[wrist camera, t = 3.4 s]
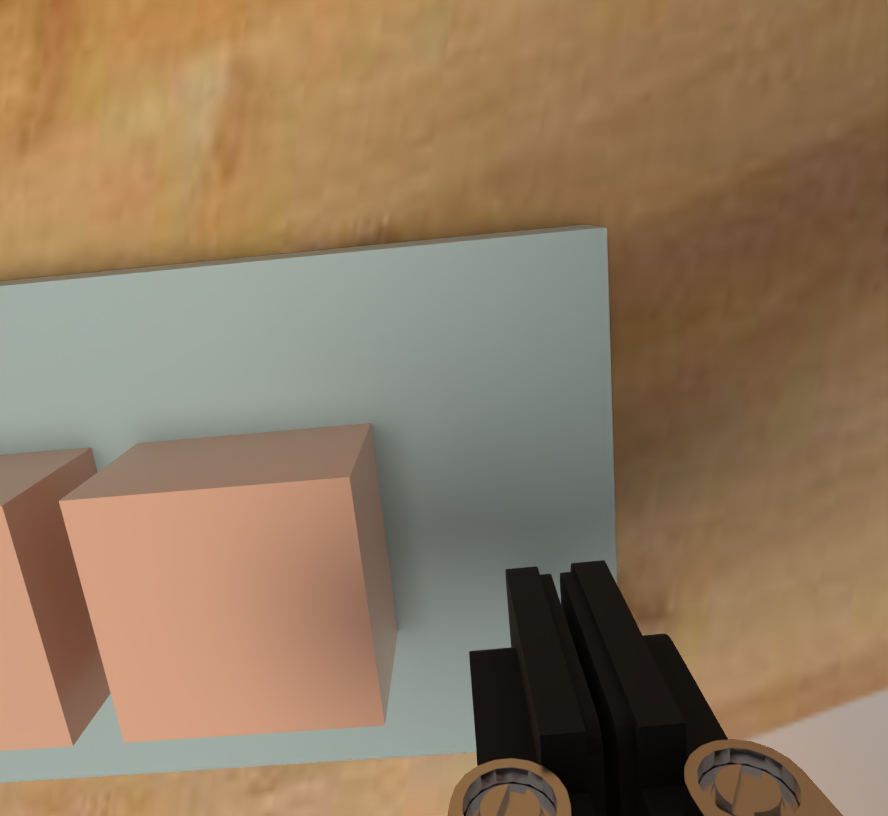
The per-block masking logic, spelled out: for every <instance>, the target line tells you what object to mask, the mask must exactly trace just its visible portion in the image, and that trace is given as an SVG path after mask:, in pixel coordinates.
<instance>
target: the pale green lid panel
mask: <svg viewBox="0 0 888 816" xmlns="http://www.w3.org/2000/svg"><path fill="white" fill-rule="evenodd" d="M367 423H371V427H372V435H373V443H374V450H375V458H376V466H377V473H378V481H379V489H380V496H381V504H382V512H383V519H384V527H385V535H386V542H387V550H388V558H389V565H390V573H391V581H392V588H393V596H394V604H395V611H396V619H397V627H398V635H397V642H396V649H395V657H394V664H393V671H392V678H391V685H390V693H389V700H388V707H387V714H386V721H385V726H370V727H355V728H340V729H324V730H309V731H294V732H279V733H264V734H249V735H234V736H219V737H204V738H189V739H174V740H159V741H144V742H129V743H124V740H123V737H122V733H121V729H120V726H119V722H118V718H117V715H116V711H115V707H114V704H113V700H112V696H111V694H110V695H109V696H108V698H107V699H106V701H105V702H104V703H103V705H102V706H101V708H100V709H99V710H98V712H97V713H96V715H95V716H94V717H93V719H92V720H91V722H90V723H89V724H88V726H87V727H86V729H85V730H84V731H83V733H82V734H81V736H80V737H79V739H78V740H77V741H76V743H75V744H74V746H69V747H53V748H38V749H23V750H8V751H0V783H4V782H20V781H35V780H51V779H67V778H82V777H98V776H113V775H129V774H144V773H160V772H175V771H191V770H206V769H222V768H238V767H253V766H269V765H284V764H300V763H315V762H331V761H346V760H362V759H377V758H393V757H408V756H424V755H440V754H455V753H471V752H476V738H475V725H474V712H473V698H472V685H471V672H470V658H469V651H477V650H488V649H499V648H511V638H510V626H509V613H508V601H507V588H506V574H505V570H506V569H513V568H524V567H535V566H537V567H538V570H539V573H540V575H541V574H551V575H552V578H553V581H554V584H555V587H556V590H557V593H558V596H559V600H560V603H561V593H560V573H563V572H571V563H579V562H590V561H601V560H604V561H605V562H606V564H607V566H608V568H609V570H610V572H611V574H612V576H613V578H614V580H615V582H616V584H617V559H616V524H615V490H614V455H613V420H612V386H611V351H610V316H609V282H608V247H607V227H601V226H593V225H585V224H582V225H572V226H561V227H551V228H541V229H530V230H520V231H510V232H500V233H489V234H479V235H469V236H458V237H448V238H438V239H428V240H417V241H407V242H397V243H386V244H376V245H366V246H356V247H345V248H335V249H325V250H314V251H304V252H294V253H284V254H273V255H263V256H253V257H242V258H232V259H222V260H212V261H201V262H191V263H181V264H170V265H160V266H150V267H140V268H129V269H119V270H109V271H98V272H88V273H78V274H68V275H57V276H47V277H37V278H26V279H16V280H6V281H0V455H6V454H18V453H29V452H41V451H53V450H64V449H76V448H88V447H91V448H92V452H93V456H94V460H95V464H96V468H97V472H99V471H100V470H102V469H103V468H104V467H106V466H107V465H108V464H110V463H111V462H112V461H114V460H115V459H116V458H118V457H119V456H121V455H122V454H123V453H125V452H126V451H127V450H129V449H130V448H131V447H133V446H134V445H135V444H137V443H146V442H157V441H169V440H181V439H192V438H204V437H216V436H227V435H239V434H251V433H262V432H274V431H286V430H297V429H309V428H321V427H332V426H344V425H356V424H367Z"/></svg>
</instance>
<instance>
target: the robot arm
mask: <svg viewBox="0 0 888 816" xmlns="http://www.w3.org/2000/svg"><path fill="white" fill-rule="evenodd" d="M505 574H506V588H507V601H508V613H509V626H510V638H511V648H499V649H488V650H477V651H469V658H470V672H471V685H472V698H473V712H474V725H475V738H476V752H477V765H478V766H477V767H476V768H474V769H473V770H471V771H470V772H468V773H467V774H465V775H464V777H463V778H462V779H461V780H460V781H459V783H458V784H457V785H456V786H455V789H454V791H453V794H452V797H451V800H450V804H449V810H448V816H843V815H842V814H841V813H840V812H839V811H838V810H837V808H836V807H835V806H834V805H833V804H832V803H831V802H830V800H829V799H828V798H827V797H826V796H825V795H824V794H823V793H822V791H821V790H820V789H819V788H818V787H817V786H816V785H815V784H814V783H813V781H812V780H811V779H810V778H809V777H808V776H807V774H806V773H805V772H804V771H803V770H802V769H800V768H799V767H798V766H797V765H796V764H795V763H794V762H793V761H792V760H790V759H789V758H788V757H786V756H784V755H782V754H781V753H779V752H777V751H775V750H774V749H772V748H769V747H766V746H763V745H761V744H757V743H755V742H751V741H743V740H736V739H728V738H727V737H726V735H725V733H724V731H723V730H722V728H721V726H720V724H719V723H718V721H717V719H716V717H715V716H714V714H713V712H712V710H711V708H710V707H709V705H708V703H707V701H706V700H705V698H704V696H703V694H702V693H701V691H700V689H699V687H698V685H697V684H696V682H695V680H694V678H693V677H692V675H691V673H690V671H689V670H688V668H687V666H686V664H685V663H684V661H683V659H682V657H681V655H680V654H679V652H678V650H677V648H676V647H675V645H674V643H673V641H672V640H671V638H670V637H669V636H668V635H666V634H656V635H645V636H642V634H641V632H640V630H639V628H638V626H637V624H636V622H635V620H634V618H633V616H632V614H631V612H630V610H629V608H628V606H627V604H626V602H625V600H624V598H623V596H622V594H621V592H620V590H619V588H618V586H617V584H616V582H615V580H614V578H613V576H612V574H611V572H610V570H609V568H608V566H607V564H606V562H605V561H604V560H601V561H590V562H579V563H571V572H563V573H560V593H561V603H560V600H559V596H558V593H557V590H556V587H555V584H554V581H553V578H552V575H551V574H541V575H540V573H539V570H538V567H537V566H535V567H524V568H513V569H506V570H505Z"/></svg>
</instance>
